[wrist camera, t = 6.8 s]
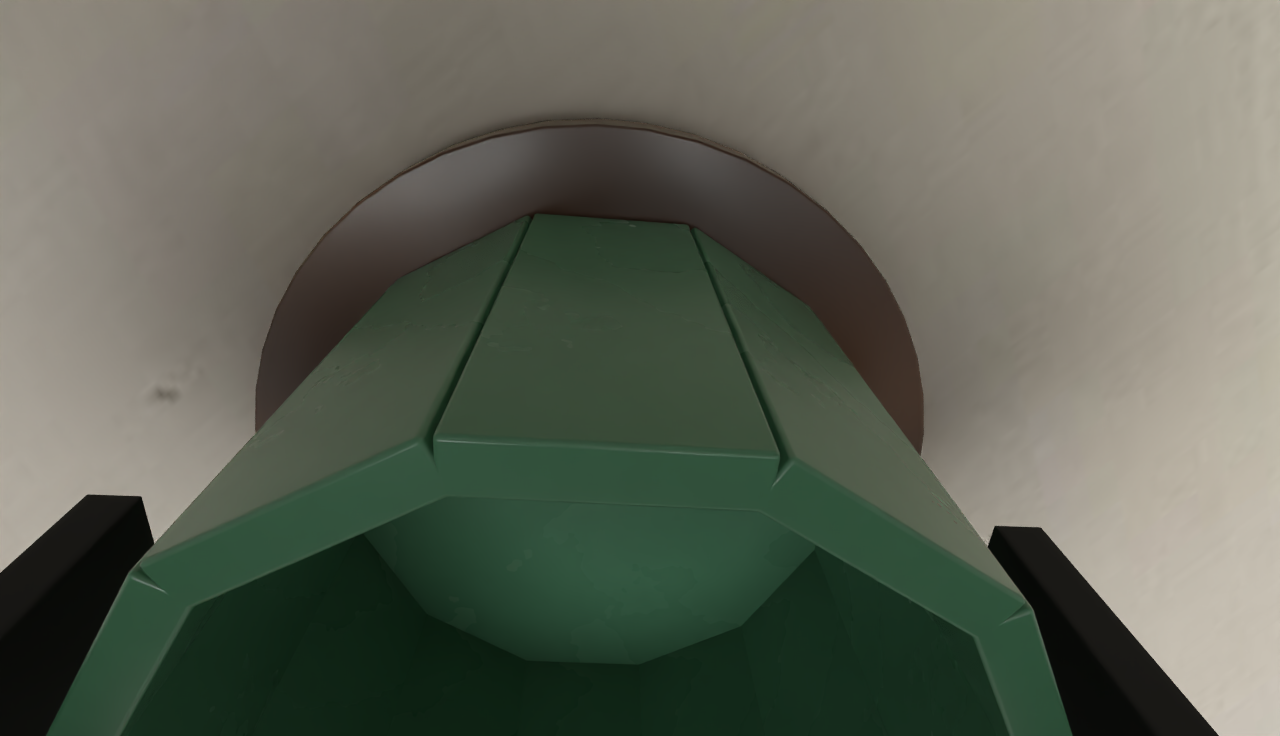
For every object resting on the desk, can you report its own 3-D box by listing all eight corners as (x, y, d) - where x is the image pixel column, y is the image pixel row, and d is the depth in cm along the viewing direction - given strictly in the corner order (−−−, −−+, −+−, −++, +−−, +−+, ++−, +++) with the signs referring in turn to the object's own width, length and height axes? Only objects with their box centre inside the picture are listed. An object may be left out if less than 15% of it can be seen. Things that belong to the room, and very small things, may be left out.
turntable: (255, 58, 13) (228, 59, 12) (1000, 180, 14) (1027, 190, 13) (288, 647, 18) (271, 679, 17) (816, 695, 20) (826, 727, 19)
